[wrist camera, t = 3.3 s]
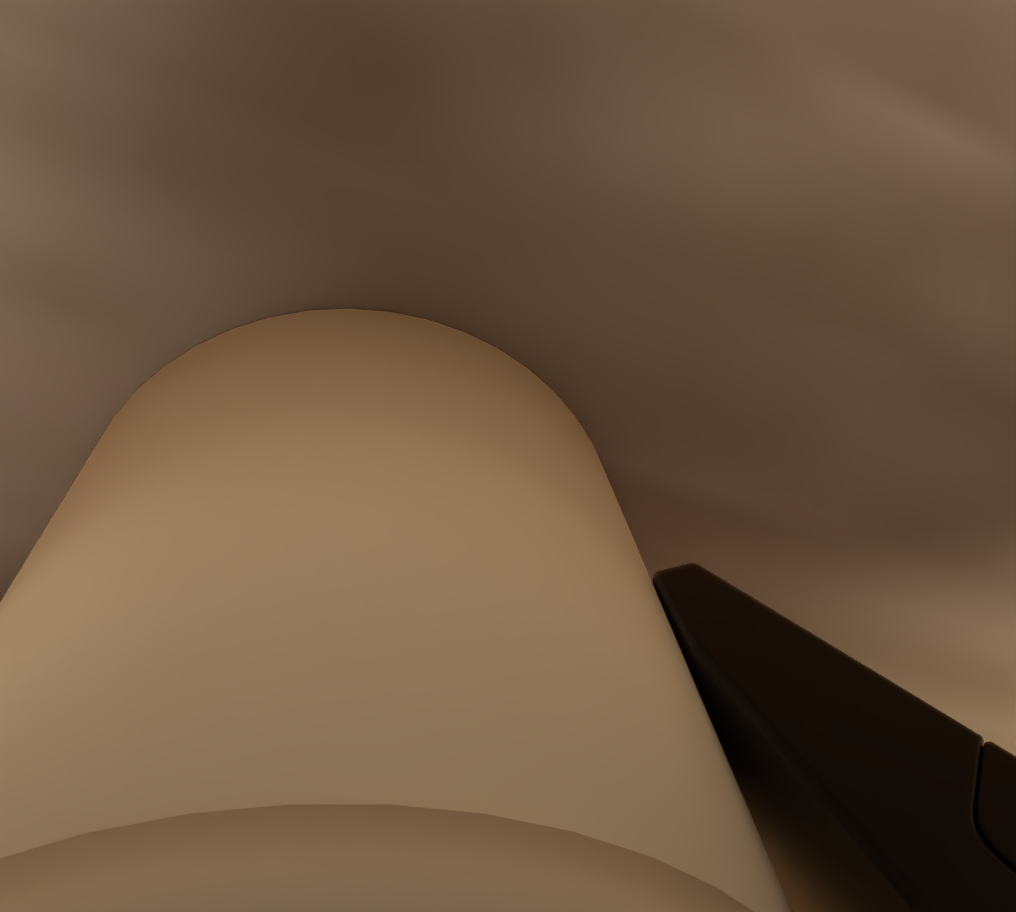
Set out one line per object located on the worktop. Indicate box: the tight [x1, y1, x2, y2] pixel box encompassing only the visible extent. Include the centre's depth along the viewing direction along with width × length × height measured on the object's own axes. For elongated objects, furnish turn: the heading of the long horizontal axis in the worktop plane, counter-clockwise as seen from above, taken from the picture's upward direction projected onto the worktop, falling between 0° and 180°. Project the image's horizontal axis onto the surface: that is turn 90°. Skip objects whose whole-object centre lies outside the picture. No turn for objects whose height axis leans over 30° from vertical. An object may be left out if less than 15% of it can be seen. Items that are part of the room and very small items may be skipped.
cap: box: [0, 309, 792, 912], centre depth 8 cm, size 6×6×7 cm
